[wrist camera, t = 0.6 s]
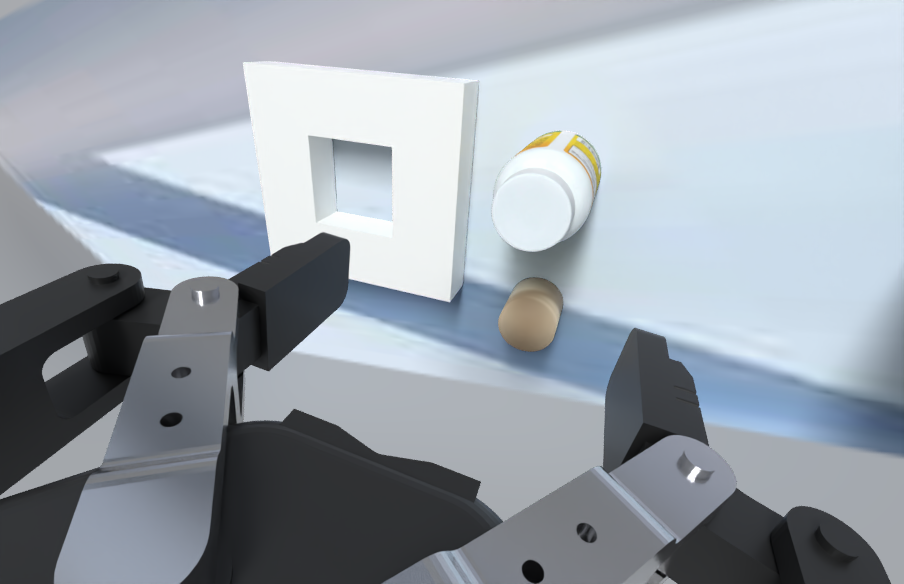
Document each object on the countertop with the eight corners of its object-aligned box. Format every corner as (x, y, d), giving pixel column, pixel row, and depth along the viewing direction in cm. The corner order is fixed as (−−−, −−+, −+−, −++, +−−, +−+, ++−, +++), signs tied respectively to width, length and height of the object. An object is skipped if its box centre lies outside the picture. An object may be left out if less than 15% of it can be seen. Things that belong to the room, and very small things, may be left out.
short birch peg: (567, 283, 34) (559, 309, 30) (558, 328, 36) (550, 357, 32) (514, 272, 35) (501, 296, 31) (508, 317, 37) (495, 343, 33)
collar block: (478, 80, 30) (464, 83, 27) (462, 285, 37) (450, 302, 34) (271, 61, 34) (242, 62, 31) (294, 247, 41) (271, 260, 39)
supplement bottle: (613, 140, 28) (604, 175, 20) (586, 219, 31) (569, 278, 23) (530, 120, 30) (490, 146, 22) (510, 198, 32) (469, 247, 24)
